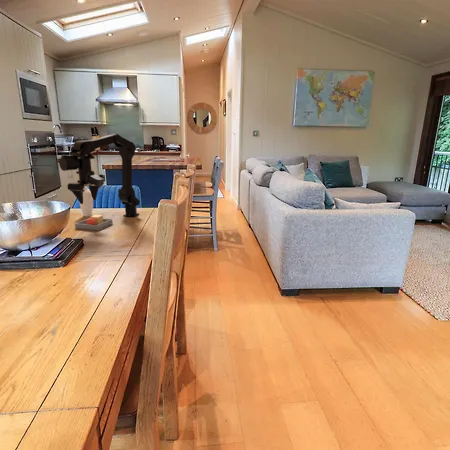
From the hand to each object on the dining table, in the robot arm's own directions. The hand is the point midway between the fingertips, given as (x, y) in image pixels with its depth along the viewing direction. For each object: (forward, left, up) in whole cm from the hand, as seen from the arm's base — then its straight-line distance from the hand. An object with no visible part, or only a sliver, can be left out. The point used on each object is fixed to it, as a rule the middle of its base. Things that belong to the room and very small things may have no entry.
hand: (88, 201), depth 148 cm
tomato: (+2, +2, -11) cm, 12 cm away
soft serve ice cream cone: (-16, -14, -12) cm, 25 cm away
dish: (0, +2, -12) cm, 12 cm away
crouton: (-2, +2, -11) cm, 12 cm away
